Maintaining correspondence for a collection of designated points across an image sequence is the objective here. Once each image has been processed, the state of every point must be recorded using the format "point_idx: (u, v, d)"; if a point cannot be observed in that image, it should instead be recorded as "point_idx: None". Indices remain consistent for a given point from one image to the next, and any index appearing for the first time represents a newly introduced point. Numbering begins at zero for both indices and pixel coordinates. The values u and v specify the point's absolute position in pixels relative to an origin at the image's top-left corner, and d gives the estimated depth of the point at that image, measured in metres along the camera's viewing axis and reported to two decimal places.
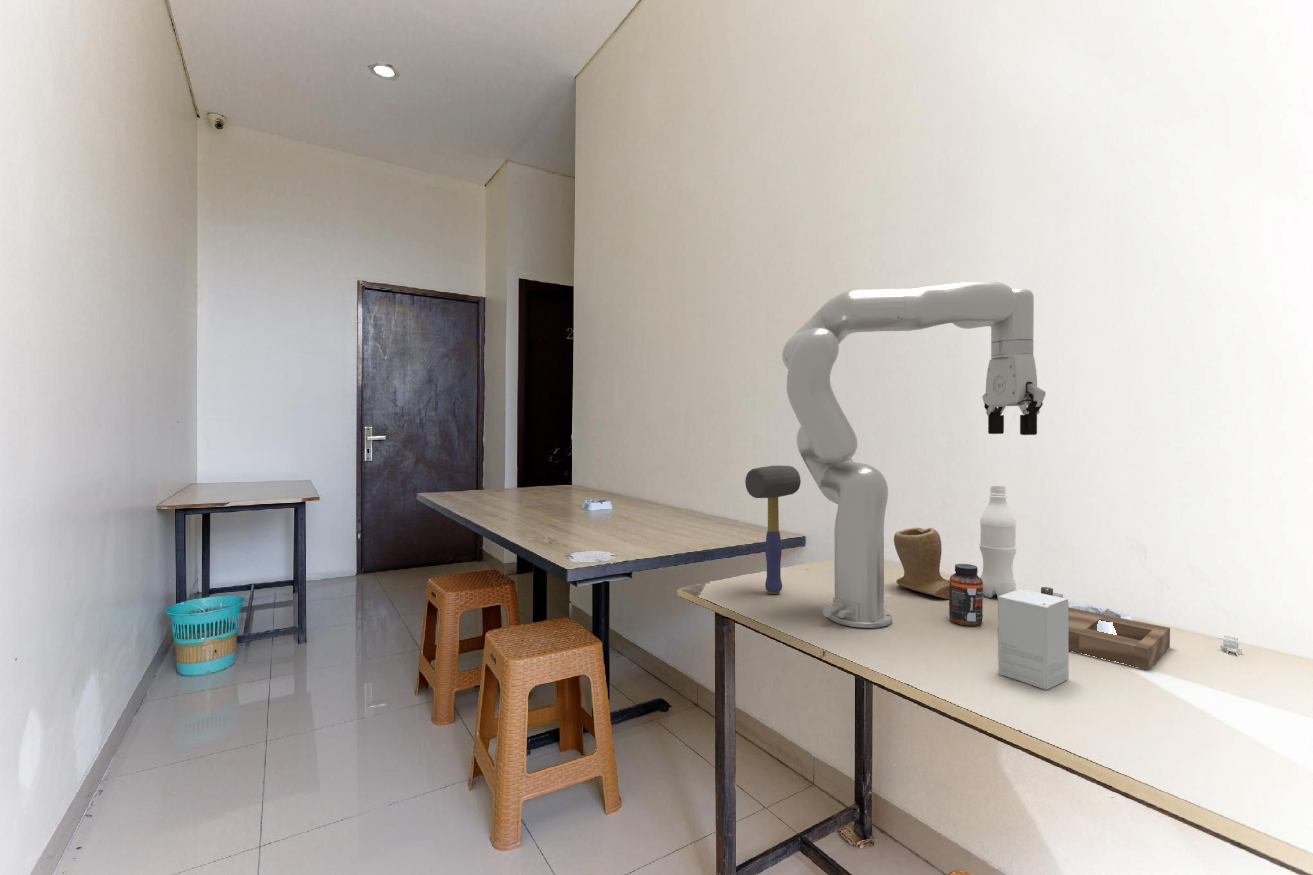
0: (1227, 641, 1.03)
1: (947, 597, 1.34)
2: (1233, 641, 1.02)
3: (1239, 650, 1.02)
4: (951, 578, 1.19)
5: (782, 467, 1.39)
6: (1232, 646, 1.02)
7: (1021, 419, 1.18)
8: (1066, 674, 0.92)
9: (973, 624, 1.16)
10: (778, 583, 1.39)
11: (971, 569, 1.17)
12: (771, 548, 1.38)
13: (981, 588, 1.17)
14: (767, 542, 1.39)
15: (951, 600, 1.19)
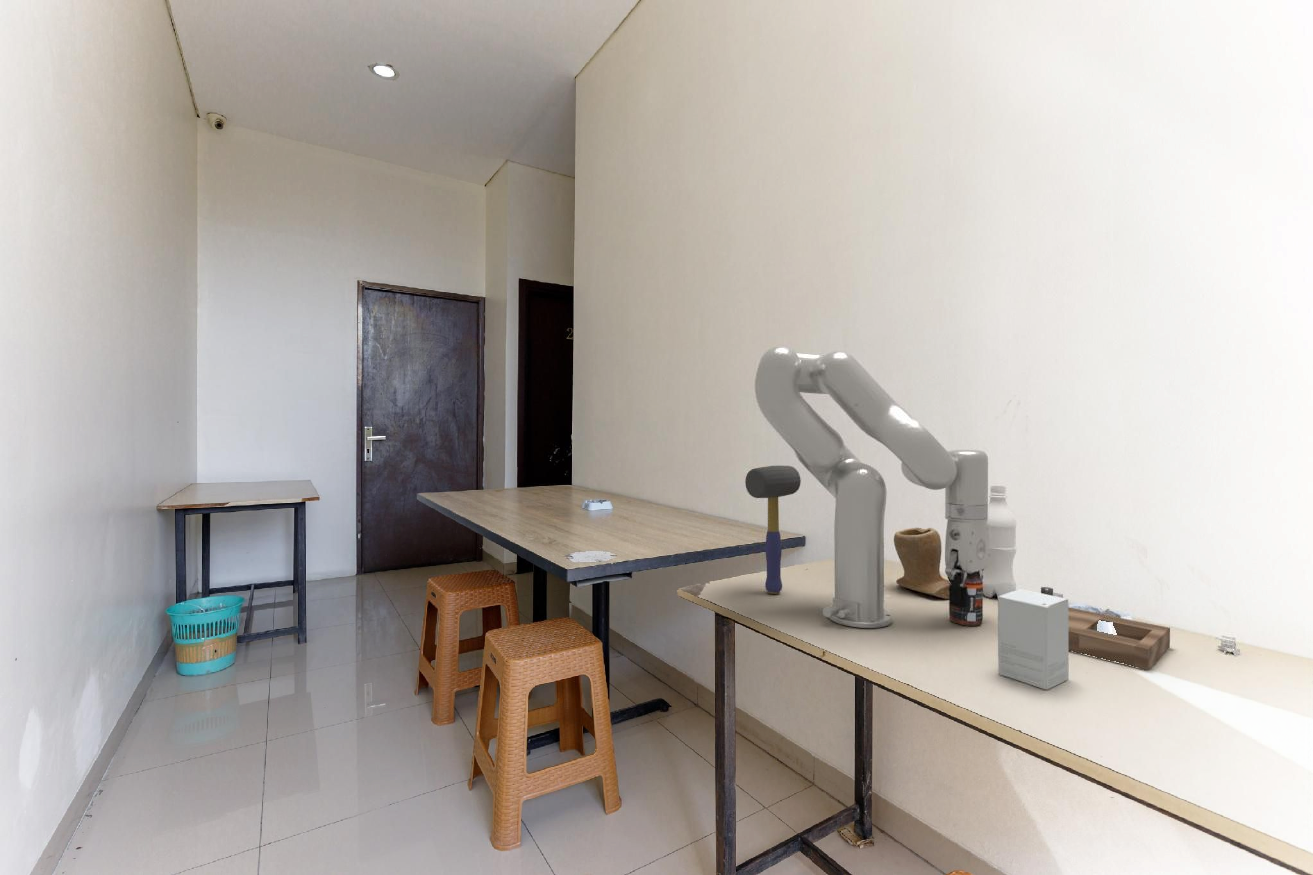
0: (1225, 641, 1.03)
1: (947, 597, 1.34)
2: (1231, 641, 1.02)
3: (1237, 650, 1.02)
4: None
5: (782, 467, 1.39)
6: (1230, 646, 1.02)
7: None
8: (1066, 674, 0.92)
9: (973, 624, 1.16)
10: (778, 583, 1.39)
11: None
12: (771, 548, 1.38)
13: (981, 588, 1.17)
14: (767, 542, 1.39)
15: None
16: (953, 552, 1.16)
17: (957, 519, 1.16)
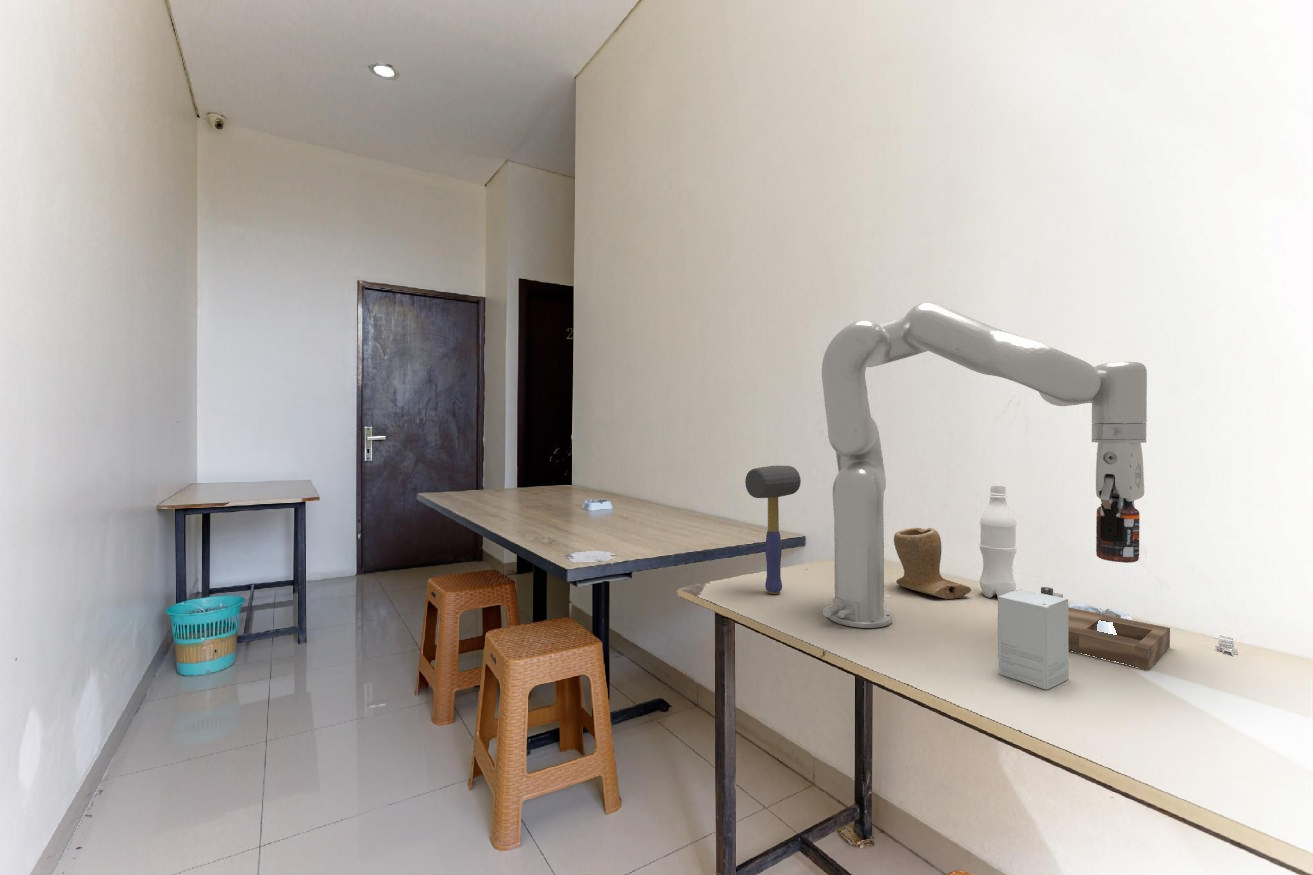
0: (1222, 641, 1.03)
1: (947, 597, 1.34)
2: (1229, 640, 1.02)
3: (1234, 650, 1.02)
4: (1100, 509, 1.04)
5: (782, 467, 1.39)
6: (1227, 646, 1.02)
7: None
8: (1066, 674, 0.92)
9: (1130, 560, 1.01)
10: (778, 583, 1.39)
11: None
12: (771, 548, 1.38)
13: (1138, 519, 1.02)
14: (767, 542, 1.39)
15: None
16: (1107, 478, 1.01)
17: (1111, 440, 1.01)
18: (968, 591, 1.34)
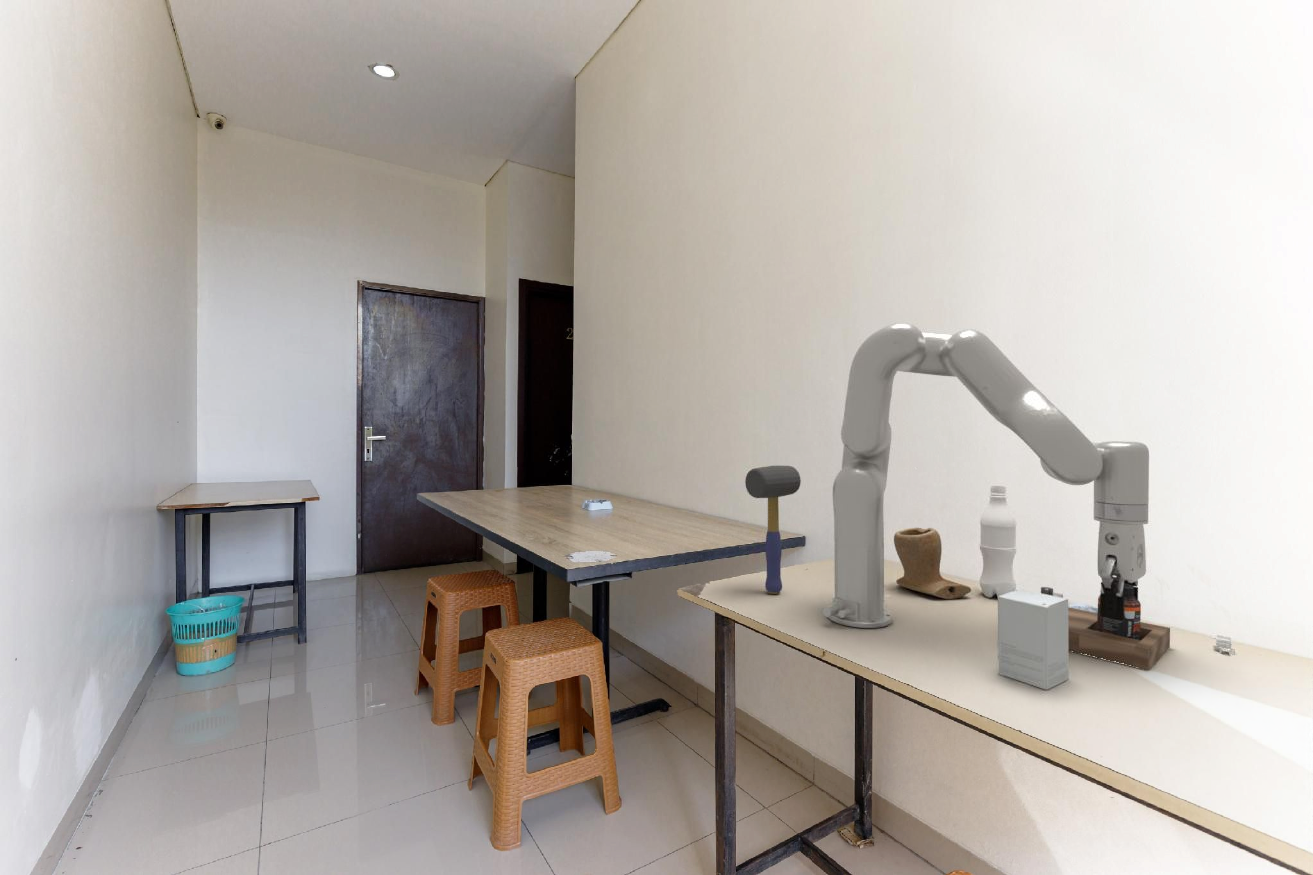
0: (1220, 641, 1.03)
1: (947, 597, 1.34)
2: (1227, 640, 1.02)
3: (1232, 650, 1.02)
4: None
5: (782, 467, 1.39)
6: (1225, 646, 1.02)
7: (1137, 592, 1.06)
8: (1066, 674, 0.92)
9: None
10: (778, 583, 1.39)
11: (1128, 589, 1.02)
12: (771, 548, 1.38)
13: (1140, 611, 1.02)
14: (767, 542, 1.39)
15: (1101, 624, 1.04)
16: (1109, 557, 1.01)
17: (1113, 521, 1.01)
18: (968, 591, 1.34)
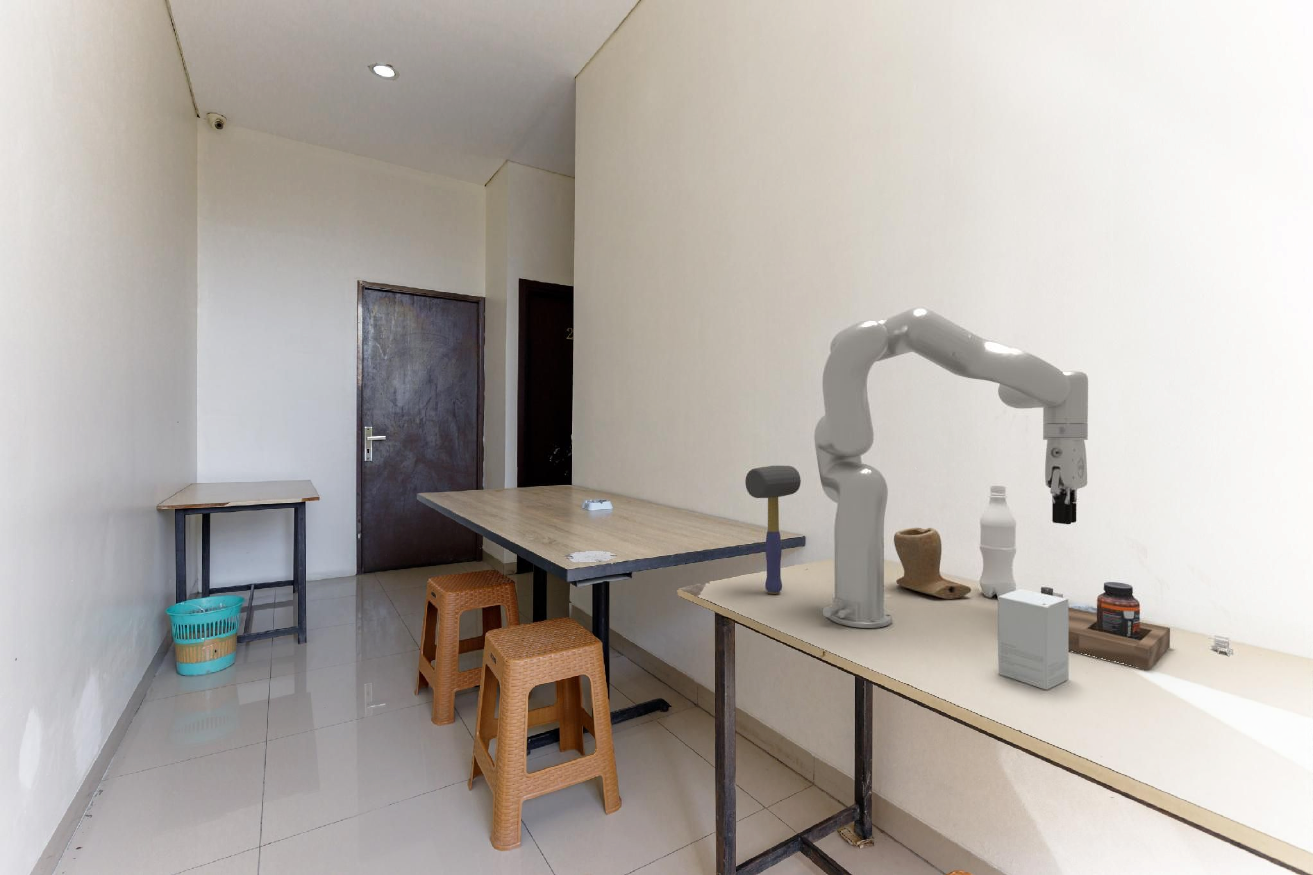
0: (1218, 641, 1.03)
1: (947, 597, 1.34)
2: (1225, 640, 1.02)
3: (1230, 650, 1.02)
4: (1101, 599, 1.05)
5: (782, 467, 1.39)
6: (1223, 646, 1.02)
7: None
8: (1066, 674, 0.92)
9: None
10: (778, 583, 1.39)
11: (1127, 589, 1.02)
12: (771, 548, 1.38)
13: (1139, 610, 1.02)
14: (767, 542, 1.39)
15: (1101, 624, 1.04)
16: (1055, 472, 1.19)
17: (1058, 438, 1.20)
18: (968, 591, 1.34)
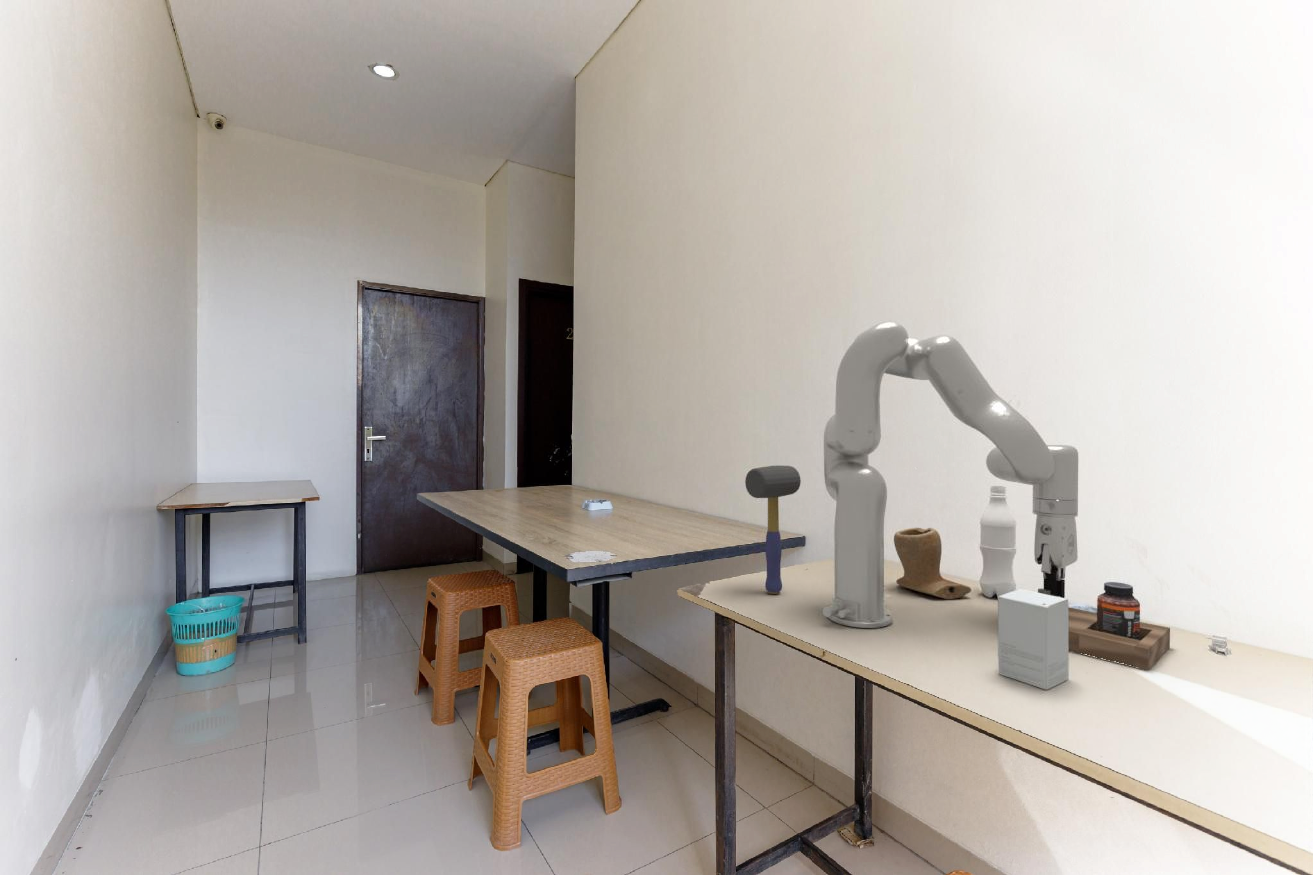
0: (1216, 641, 1.03)
1: (947, 597, 1.34)
2: (1222, 640, 1.02)
3: (1228, 650, 1.02)
4: (1101, 599, 1.05)
5: (782, 467, 1.39)
6: (1221, 646, 1.03)
7: (1064, 584, 1.18)
8: (1066, 674, 0.92)
9: None
10: (778, 583, 1.39)
11: (1127, 589, 1.02)
12: (771, 548, 1.38)
13: (1139, 610, 1.02)
14: (767, 542, 1.39)
15: (1101, 624, 1.04)
16: (1045, 549, 1.16)
17: (1047, 514, 1.17)
18: (968, 591, 1.34)
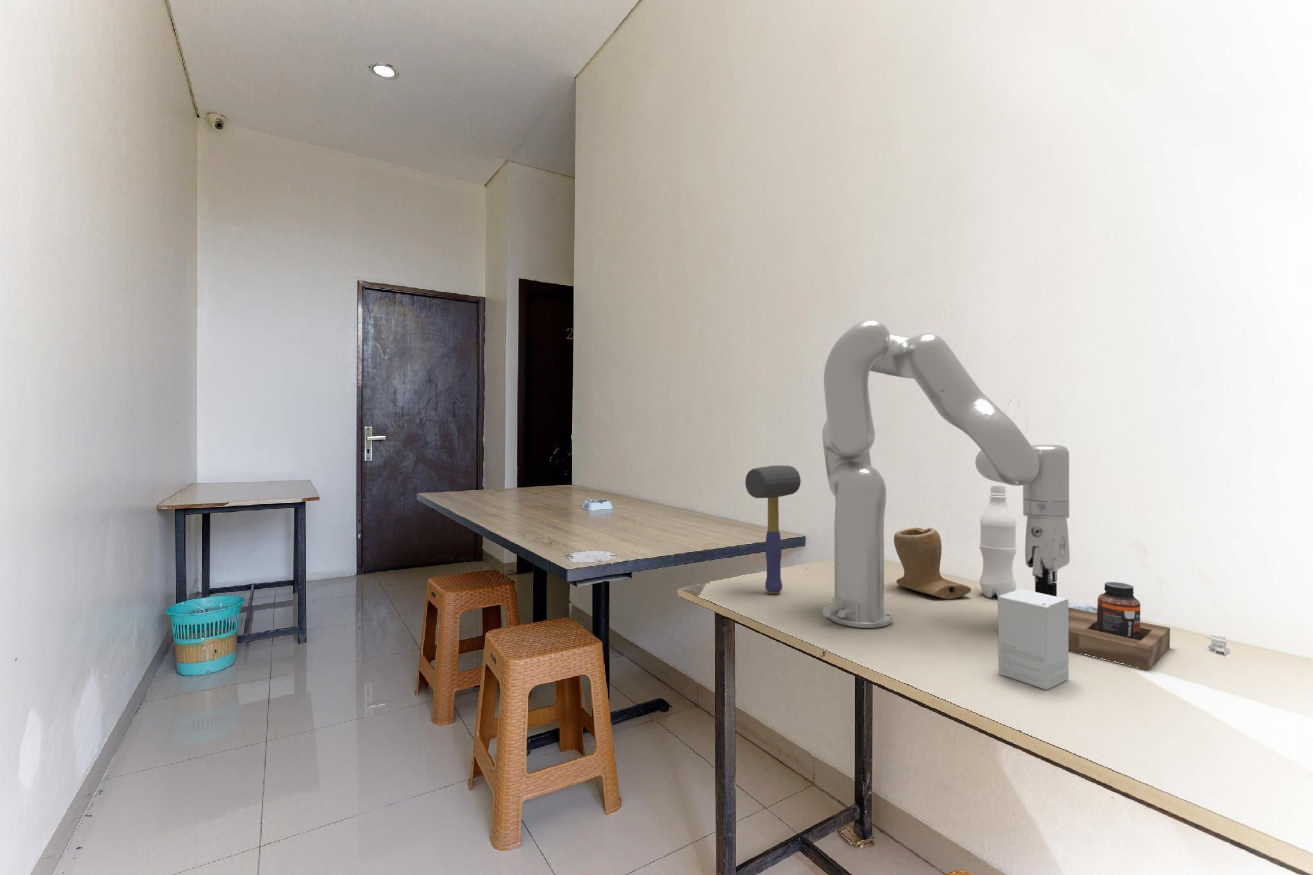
0: (1215, 641, 1.03)
1: (947, 597, 1.34)
2: (1221, 640, 1.02)
3: (1227, 650, 1.02)
4: (1101, 599, 1.05)
5: (782, 467, 1.39)
6: (1220, 646, 1.03)
7: (1056, 587, 1.15)
8: (1066, 674, 0.92)
9: None
10: (778, 583, 1.39)
11: (1128, 589, 1.02)
12: (771, 548, 1.38)
13: (1139, 611, 1.02)
14: (767, 542, 1.39)
15: (1101, 624, 1.04)
16: (1036, 552, 1.13)
17: (1038, 516, 1.14)
18: (968, 591, 1.34)
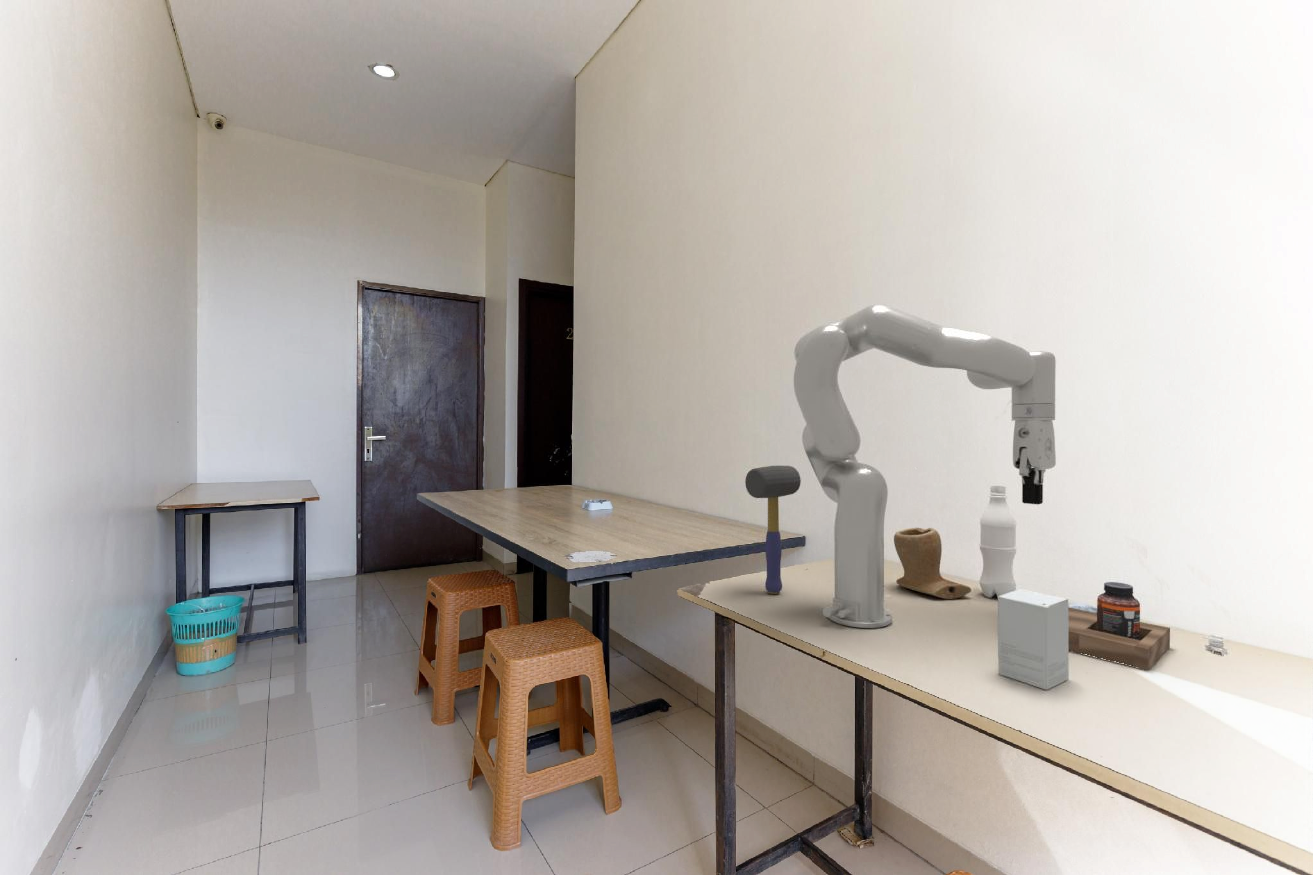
0: (1212, 641, 1.03)
1: (947, 597, 1.34)
2: (1219, 640, 1.02)
3: (1224, 650, 1.02)
4: (1101, 599, 1.05)
5: (782, 467, 1.39)
6: (1217, 646, 1.03)
7: (1042, 488, 1.21)
8: (1066, 674, 0.92)
9: None
10: (778, 583, 1.39)
11: (1127, 589, 1.02)
12: (771, 548, 1.38)
13: (1139, 610, 1.02)
14: (767, 542, 1.39)
15: (1101, 624, 1.04)
16: (1022, 453, 1.19)
17: (1025, 418, 1.19)
18: (968, 591, 1.34)
